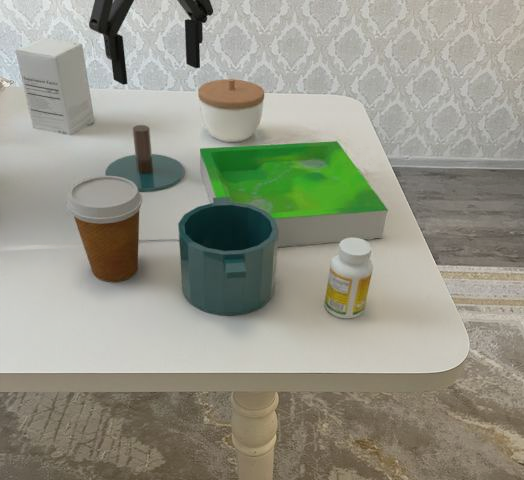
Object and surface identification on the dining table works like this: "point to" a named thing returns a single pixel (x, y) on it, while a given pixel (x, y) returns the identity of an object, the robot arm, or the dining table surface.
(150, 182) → the lid
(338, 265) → the supplement bottle
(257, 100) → the lidded bowl
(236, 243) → the pot
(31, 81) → the rectangular carton
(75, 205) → the disposable coffee cup
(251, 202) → the tray
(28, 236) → the dining table surface
